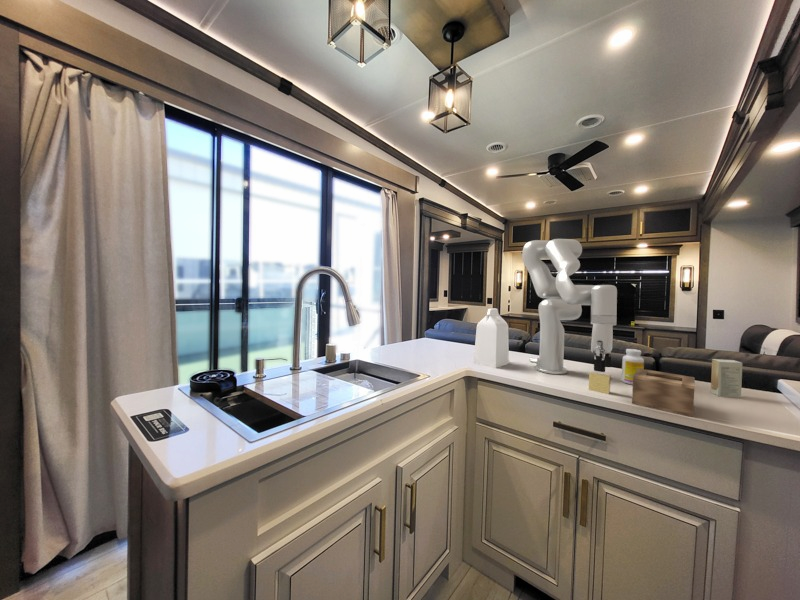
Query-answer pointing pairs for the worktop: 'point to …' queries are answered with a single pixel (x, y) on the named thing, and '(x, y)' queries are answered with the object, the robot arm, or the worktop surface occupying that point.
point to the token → (599, 382)
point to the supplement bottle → (631, 365)
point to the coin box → (664, 391)
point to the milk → (492, 341)
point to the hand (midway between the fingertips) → (602, 368)
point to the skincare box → (726, 378)
